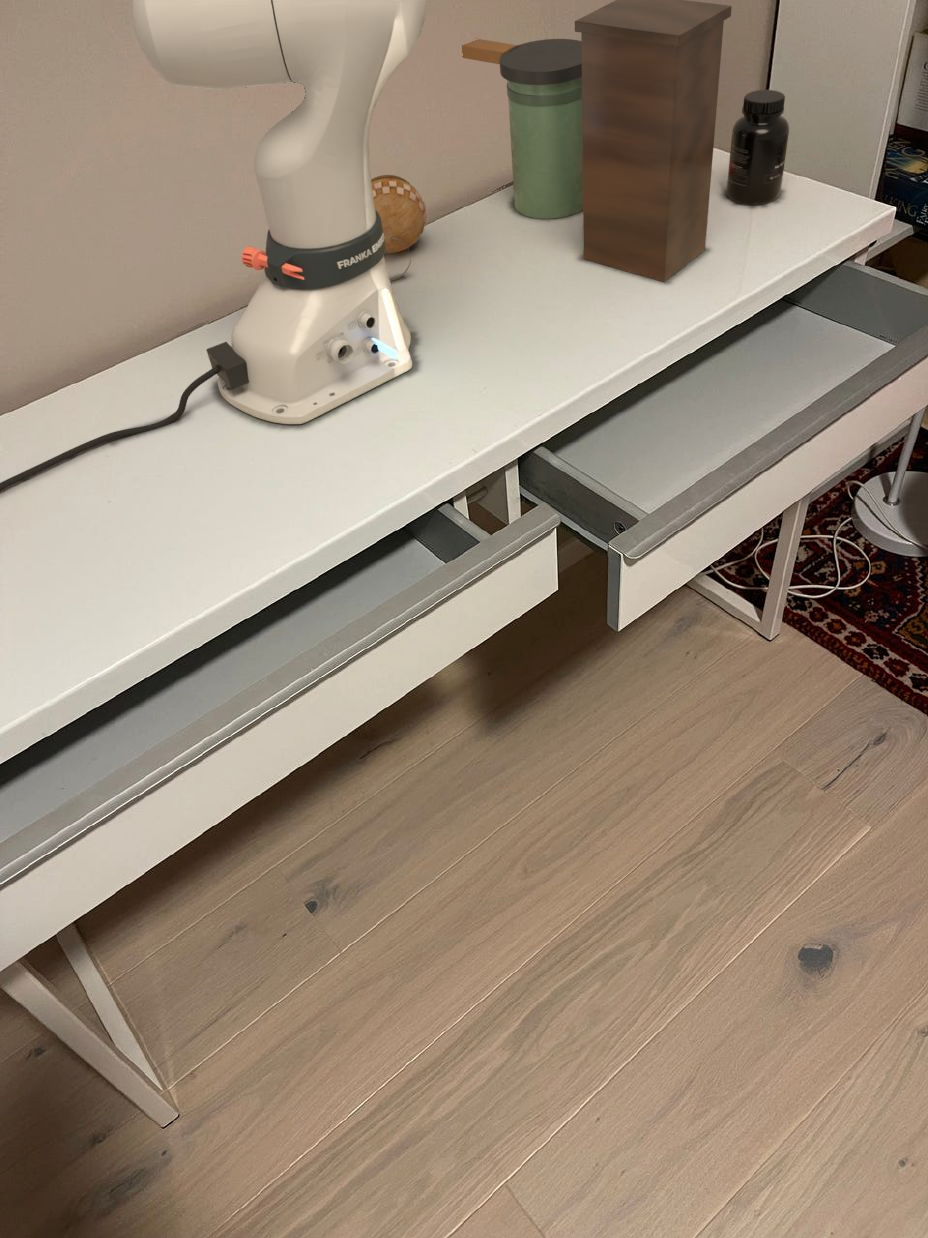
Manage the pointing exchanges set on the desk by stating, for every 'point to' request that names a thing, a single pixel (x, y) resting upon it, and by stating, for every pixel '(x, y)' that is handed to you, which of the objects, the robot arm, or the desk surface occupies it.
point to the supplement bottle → (758, 149)
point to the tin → (546, 148)
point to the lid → (531, 59)
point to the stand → (648, 131)
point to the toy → (398, 212)
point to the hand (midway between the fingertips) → (446, 26)
